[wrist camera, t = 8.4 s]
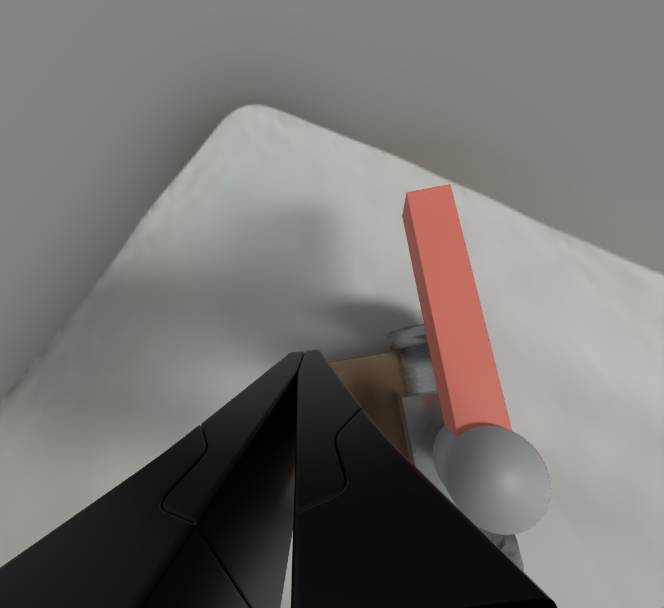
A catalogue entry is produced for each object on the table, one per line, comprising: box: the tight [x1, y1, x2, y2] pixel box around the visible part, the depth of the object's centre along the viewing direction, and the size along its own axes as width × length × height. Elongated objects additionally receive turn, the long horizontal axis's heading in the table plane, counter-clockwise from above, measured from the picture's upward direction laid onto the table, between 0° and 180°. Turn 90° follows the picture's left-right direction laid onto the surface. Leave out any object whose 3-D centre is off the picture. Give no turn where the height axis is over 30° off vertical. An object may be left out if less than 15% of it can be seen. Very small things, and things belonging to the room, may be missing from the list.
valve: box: [329, 324, 524, 571], centre depth 16 cm, size 12×9×7 cm
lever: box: [402, 184, 551, 535], centre depth 12 cm, size 3×13×2 cm, turn 8°
